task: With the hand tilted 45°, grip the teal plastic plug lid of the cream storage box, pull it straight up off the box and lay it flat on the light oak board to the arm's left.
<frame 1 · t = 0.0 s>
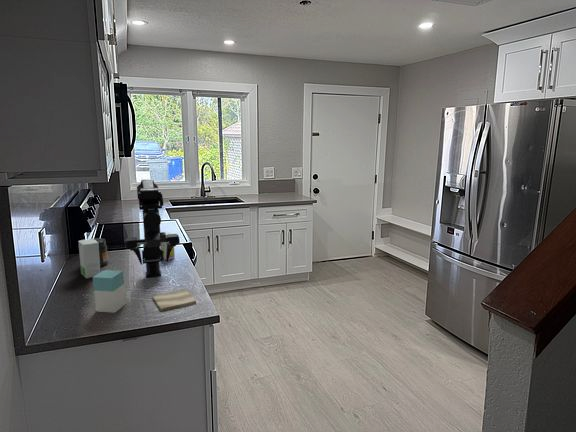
hand: (154, 263, 146), 15 cm above the worktop, tool pointing down, fingers open, 9 cm apart
supplement container: (96, 264, 187), on the worktop
skincare box: (91, 274, 174), on the worktop
cream storage box: (111, 307, 141), on the worktop
supplement bottle: (167, 258, 197), on the worktop
teal lid: (109, 287, 140), point 8 cm above the worktop, touching cream storage box
oak board: (174, 300, 148), on the worktop
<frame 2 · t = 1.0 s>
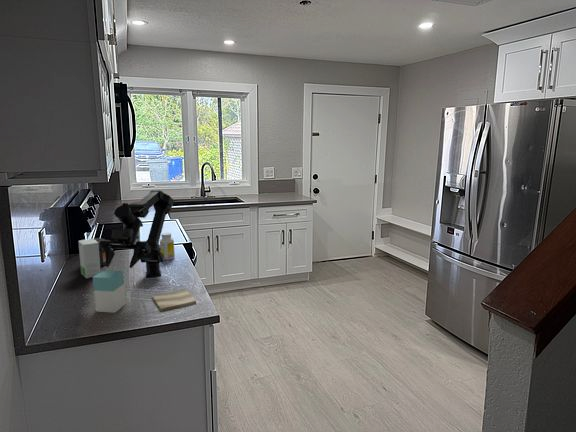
hand: (118, 267, 145), 13 cm above the worktop, tool tilted 45°, fingers open, 9 cm apart
nothing on the worktop moved.
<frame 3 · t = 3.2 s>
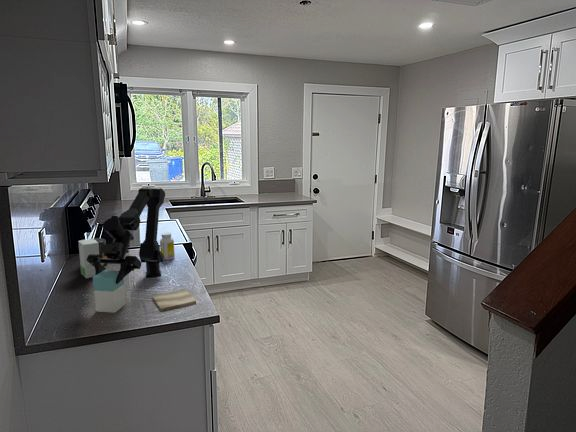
hand: (106, 283, 138), 10 cm above the worktop, tool tilted 45°, fingers closed on teal lid, 7 cm apart
teal lid: (109, 287, 140), point 8 cm above the worktop, touching cream storage box, gripper
everything else where it was.
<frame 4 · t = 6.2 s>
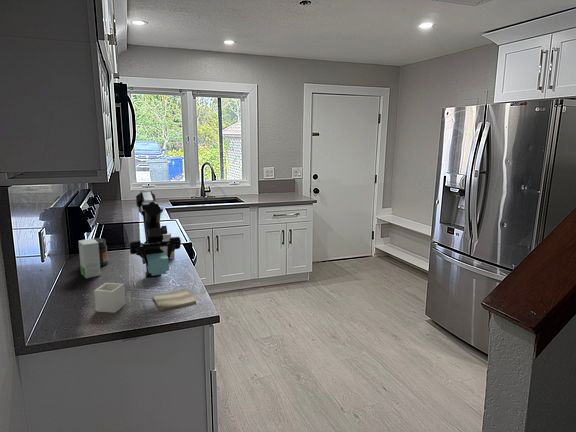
hand: (158, 264, 147), 14 cm above the worktop, tool tilted 45°, fingers closed on teal lid, 7 cm apart
teal lid: (158, 268, 149), point 11 cm above the worktop, touching gripper
everything else where it was.
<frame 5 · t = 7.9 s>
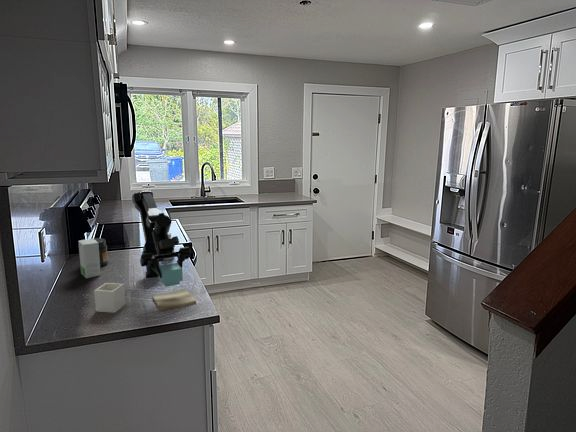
hand: (171, 275, 147), 10 cm above the worktop, tool tilted 45°, fingers closed on teal lid, 7 cm apart
teal lid: (170, 279, 149), point 7 cm above the worktop, touching gripper
everything else where it was.
when the fingers open (6 cm above the worktop, at t = 9.3 s): teal lid drops 2 cm, resting on oak board.
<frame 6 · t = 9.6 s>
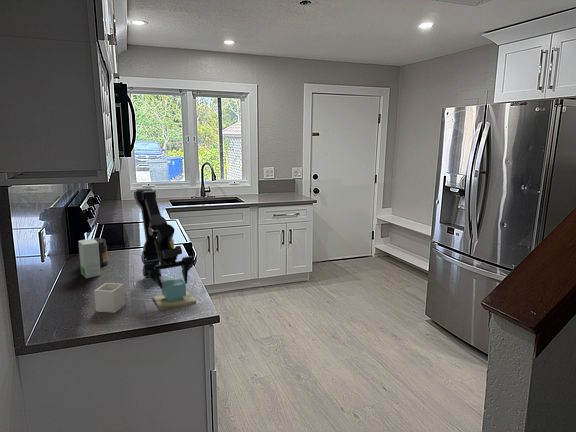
hand: (174, 285, 145), 7 cm above the worktop, tool tilted 45°, fingers open, 9 cm apart
teal lid: (173, 294, 147), point 2 cm above the worktop, touching oak board
everything else where it was.
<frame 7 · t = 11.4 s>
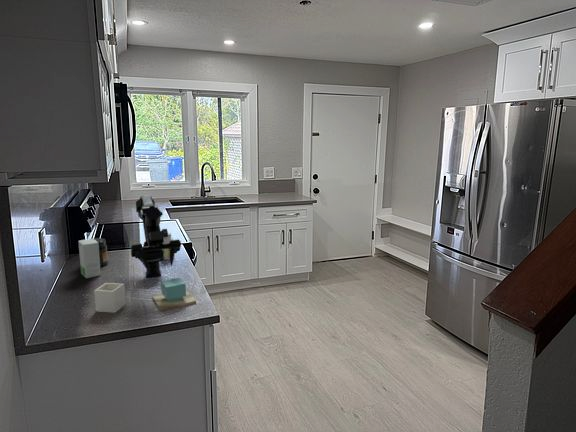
hand: (159, 266, 151), 11 cm above the worktop, tool tilted 45°, fingers open, 9 cm apart
nothing on the worktop moved.
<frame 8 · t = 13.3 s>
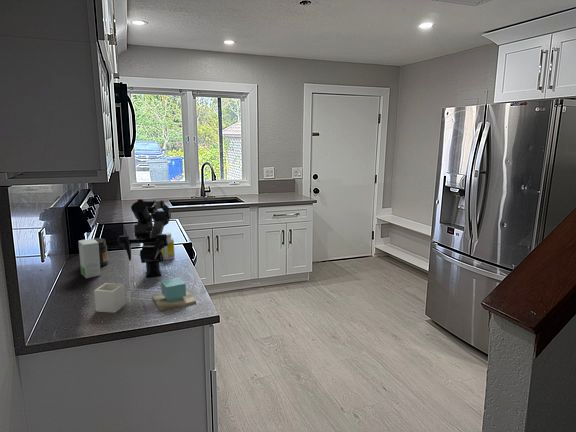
hand: (142, 259, 152), 14 cm above the worktop, tool tilted 45°, fingers open, 9 cm apart
nothing on the worktop moved.
at the end: teal lid inside the target area on the oak board (0.0 cm from its centre), point 2.5 cm above the oak board's base; teal lid tilted 0°; the gripper is holding nothing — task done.
